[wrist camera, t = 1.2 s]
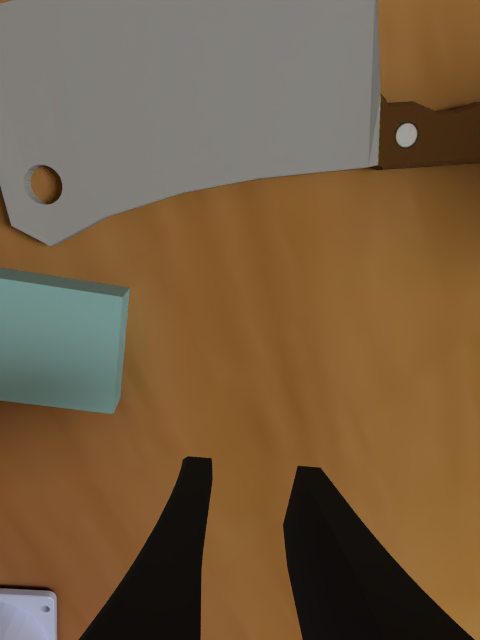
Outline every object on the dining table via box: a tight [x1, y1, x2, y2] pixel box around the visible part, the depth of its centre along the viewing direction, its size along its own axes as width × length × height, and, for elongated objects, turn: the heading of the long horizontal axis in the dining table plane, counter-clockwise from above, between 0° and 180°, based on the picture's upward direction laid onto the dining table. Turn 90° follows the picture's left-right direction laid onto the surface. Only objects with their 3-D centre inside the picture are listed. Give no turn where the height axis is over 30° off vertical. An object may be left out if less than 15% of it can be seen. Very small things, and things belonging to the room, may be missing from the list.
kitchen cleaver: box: [0, 0, 480, 246], centre depth 14 cm, size 24×1×10 cm
